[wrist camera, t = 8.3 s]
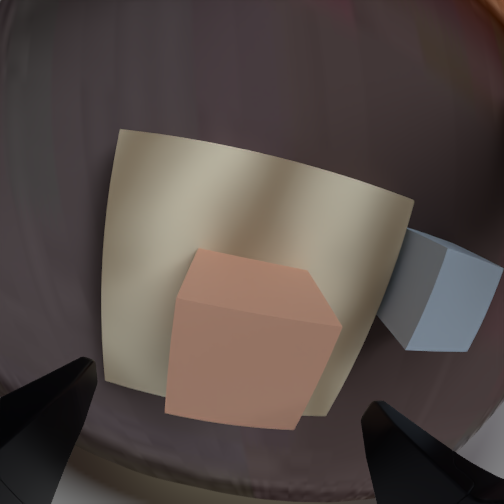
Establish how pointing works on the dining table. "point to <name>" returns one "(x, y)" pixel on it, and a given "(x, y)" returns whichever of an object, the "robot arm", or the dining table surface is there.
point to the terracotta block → (247, 342)
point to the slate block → (437, 294)
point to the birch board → (236, 244)
